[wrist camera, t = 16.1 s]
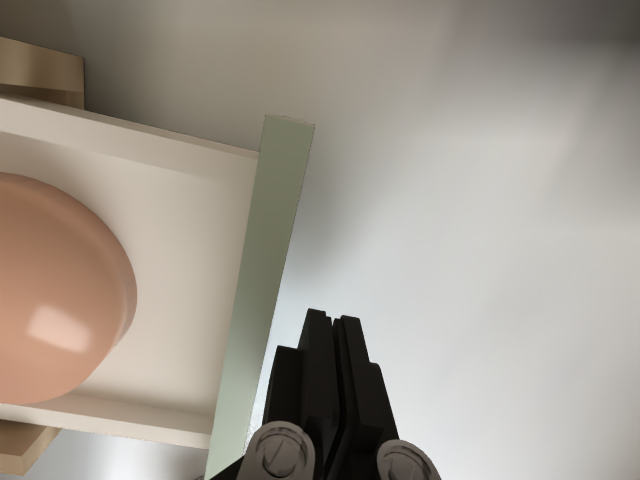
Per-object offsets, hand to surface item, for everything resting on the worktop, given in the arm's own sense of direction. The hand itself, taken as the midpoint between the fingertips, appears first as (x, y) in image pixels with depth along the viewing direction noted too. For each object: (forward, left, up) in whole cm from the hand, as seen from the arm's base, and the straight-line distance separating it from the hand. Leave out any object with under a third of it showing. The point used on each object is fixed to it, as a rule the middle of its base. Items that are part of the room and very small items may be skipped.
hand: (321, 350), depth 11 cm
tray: (+9, 0, -2) cm, 9 cm away
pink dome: (+10, 0, -1) cm, 10 cm away
